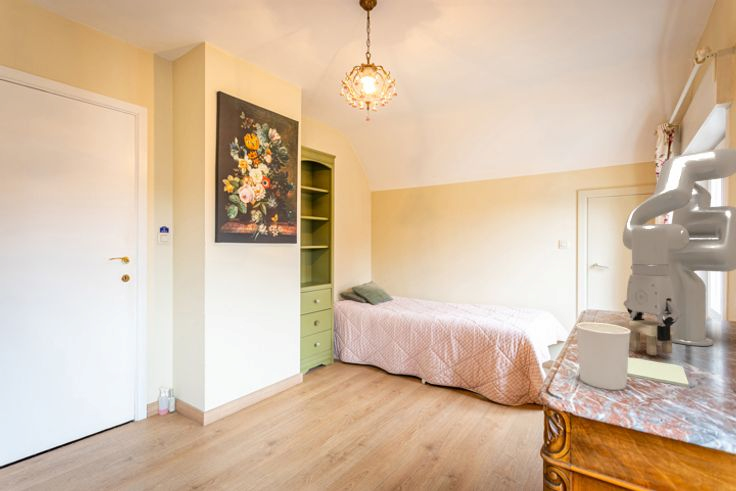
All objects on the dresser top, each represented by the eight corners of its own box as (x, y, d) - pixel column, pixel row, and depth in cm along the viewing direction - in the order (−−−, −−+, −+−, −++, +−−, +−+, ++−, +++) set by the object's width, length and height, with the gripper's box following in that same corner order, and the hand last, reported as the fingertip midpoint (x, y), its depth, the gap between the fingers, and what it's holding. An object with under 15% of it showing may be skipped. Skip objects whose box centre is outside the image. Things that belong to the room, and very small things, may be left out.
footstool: (629, 347, 95) (629, 320, 95) (650, 345, 96) (650, 319, 96) (651, 355, 89) (651, 326, 89) (673, 353, 89) (673, 325, 89)
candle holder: (566, 377, 77) (566, 324, 77) (594, 371, 81) (594, 320, 81) (611, 395, 68) (611, 335, 68) (641, 387, 72) (641, 330, 72)
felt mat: (620, 358, 90) (620, 356, 90) (682, 368, 82) (682, 366, 82) (618, 373, 79) (618, 371, 79) (689, 387, 72) (689, 384, 72)
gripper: (610, 268, 100) (611, 329, 100) (669, 274, 83) (670, 347, 83) (633, 267, 101) (634, 327, 101) (696, 273, 84) (697, 345, 84)
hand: (650, 336), depth 92 cm, fingers closed on footstool, 6 cm apart
